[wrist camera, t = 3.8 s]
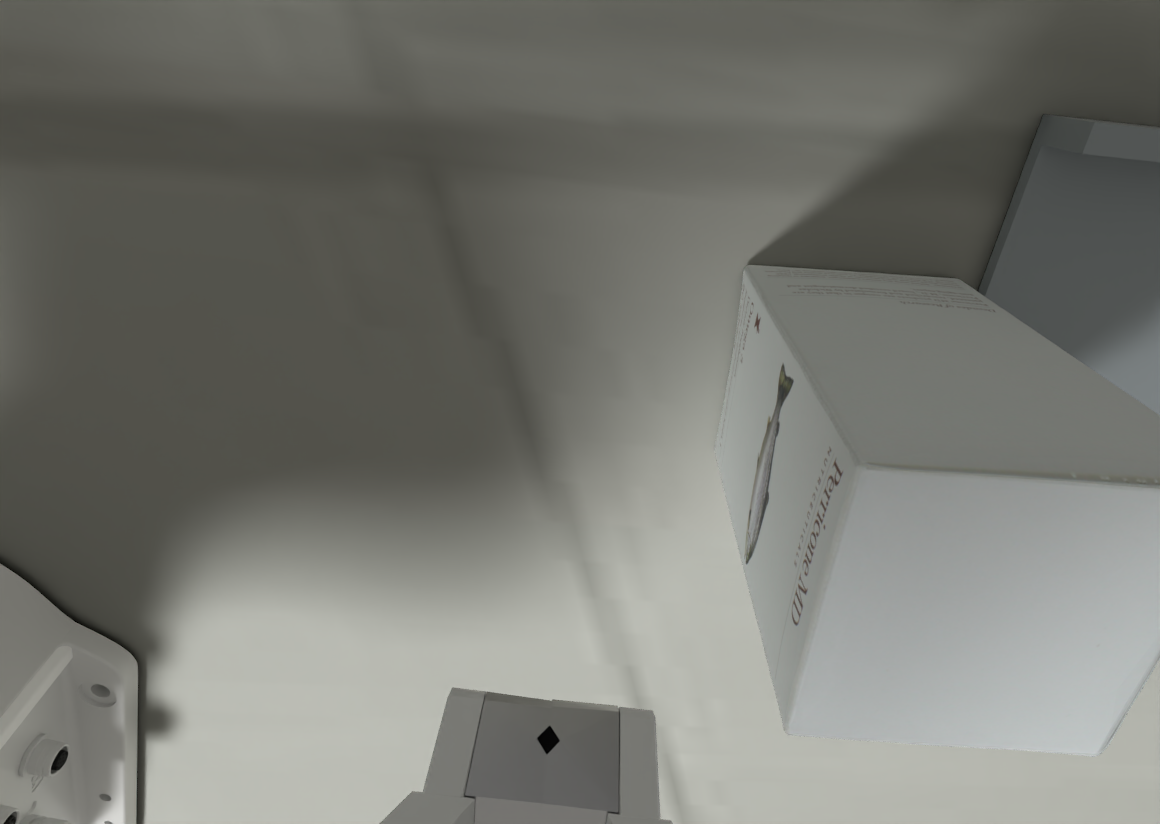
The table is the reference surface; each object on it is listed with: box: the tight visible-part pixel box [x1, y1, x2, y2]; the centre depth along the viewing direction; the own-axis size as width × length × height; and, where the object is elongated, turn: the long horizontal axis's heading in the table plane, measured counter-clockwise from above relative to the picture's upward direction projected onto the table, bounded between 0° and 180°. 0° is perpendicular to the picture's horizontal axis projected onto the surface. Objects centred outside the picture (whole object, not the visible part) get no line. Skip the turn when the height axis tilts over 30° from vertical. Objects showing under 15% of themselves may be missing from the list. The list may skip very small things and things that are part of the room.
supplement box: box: [714, 265, 1160, 757], centre depth 19 cm, size 7×7×13 cm
